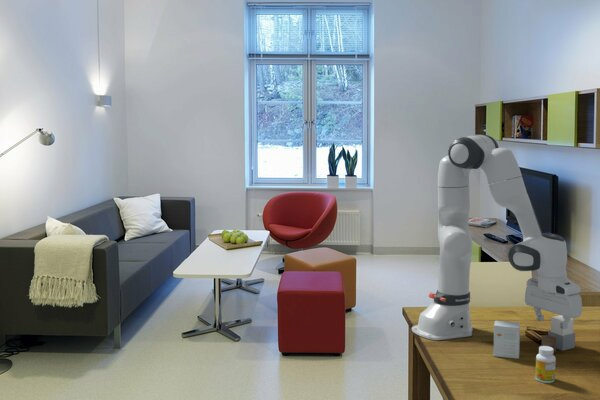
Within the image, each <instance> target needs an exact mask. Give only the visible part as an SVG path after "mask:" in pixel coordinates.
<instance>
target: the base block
mask: <svg viewBox="0 0 600 400" xmlns="http://www.w3.org/2000/svg"><path fill="white" fill-rule="evenodd" d="M547 335H551V336H554V337H556V350H559V351H562V352H563V351H566V350H571V349H574V348H575V346H576V333H575V332H573V333H572V334H568V335H564V336H562V335H559V334H556V333H554V332H551V330H548V333H547Z"/></svg>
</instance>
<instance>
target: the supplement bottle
mask: <svg viewBox="0 0 600 400" xmlns="http://www.w3.org/2000/svg"><path fill="white" fill-rule="evenodd" d="M553 353H554V349H553V348H552V347H549V346H541V345H540V346H538V354H536V356H535V372H534V373H535V376H534V377H535V380H536V381H538V382H539V383H544V384H551V383H553V382H555V380H556V363H557V362H556V361H557V359H556V356H555V354H553Z"/></svg>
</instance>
